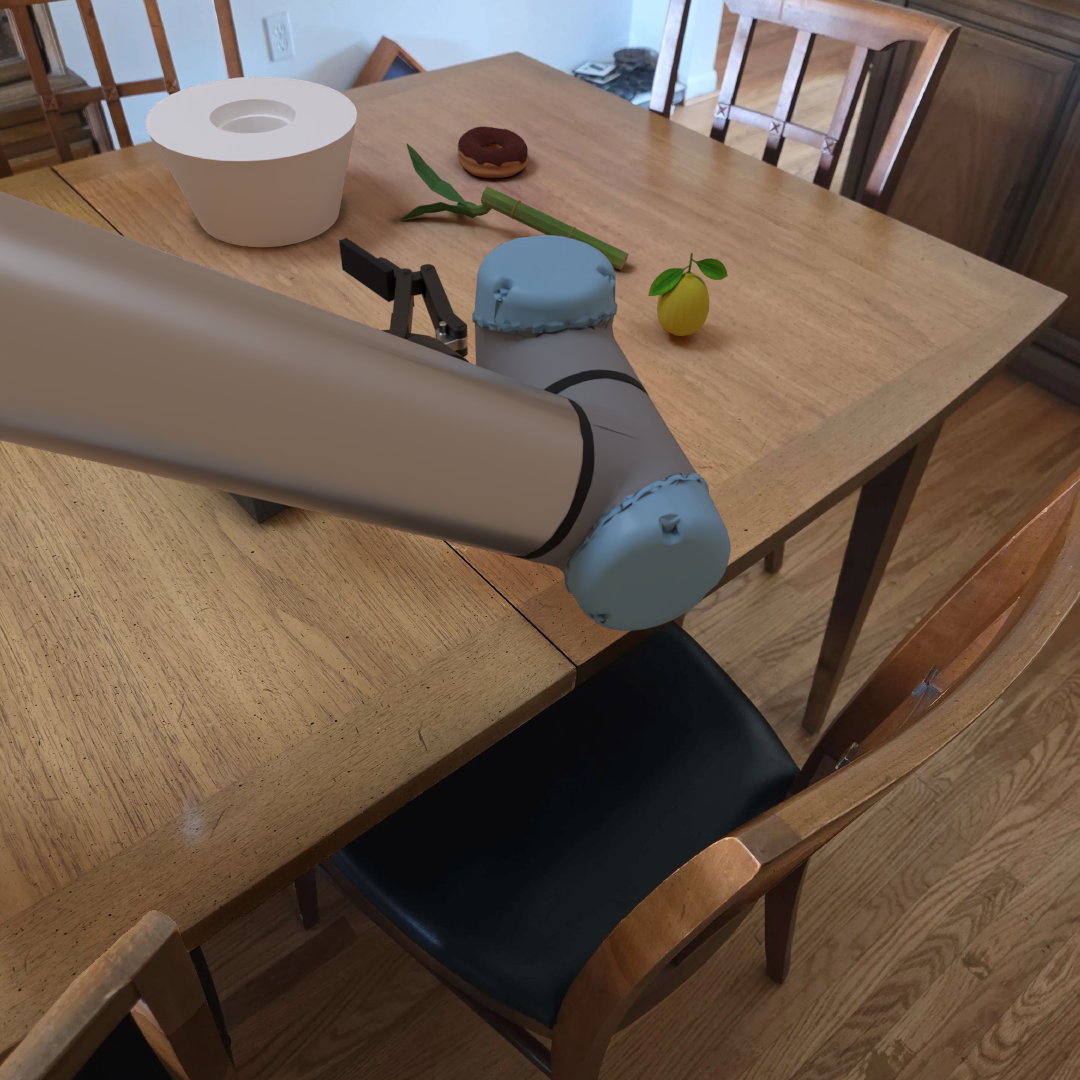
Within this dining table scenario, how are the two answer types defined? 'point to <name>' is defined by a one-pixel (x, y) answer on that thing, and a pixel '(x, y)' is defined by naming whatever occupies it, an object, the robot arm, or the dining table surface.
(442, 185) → the decorative plant
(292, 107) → the white tapered round pot
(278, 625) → the dining table surface
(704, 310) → the lemon
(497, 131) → the donut
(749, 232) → the dining table surface
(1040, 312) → the dining table surface
